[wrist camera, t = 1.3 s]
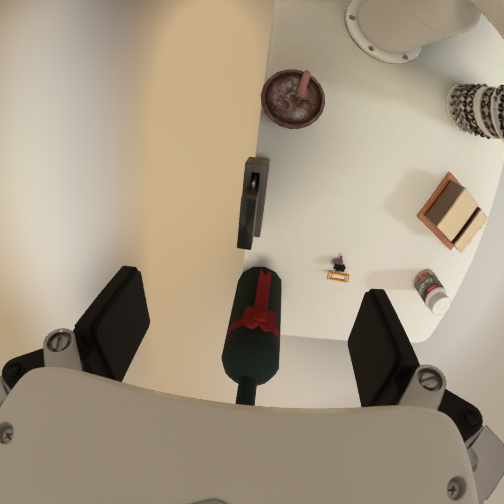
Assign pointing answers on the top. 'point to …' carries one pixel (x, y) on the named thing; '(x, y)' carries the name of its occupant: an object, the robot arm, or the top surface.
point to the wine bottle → (253, 332)
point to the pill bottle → (432, 292)
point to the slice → (469, 229)
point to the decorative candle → (477, 109)
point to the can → (293, 99)
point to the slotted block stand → (448, 209)
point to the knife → (248, 215)
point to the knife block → (260, 167)
